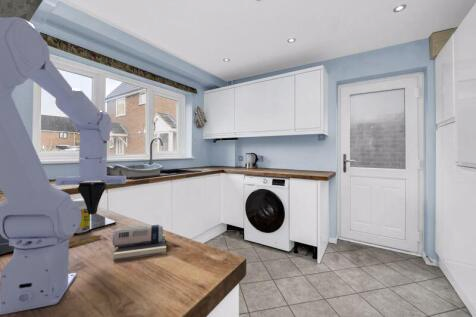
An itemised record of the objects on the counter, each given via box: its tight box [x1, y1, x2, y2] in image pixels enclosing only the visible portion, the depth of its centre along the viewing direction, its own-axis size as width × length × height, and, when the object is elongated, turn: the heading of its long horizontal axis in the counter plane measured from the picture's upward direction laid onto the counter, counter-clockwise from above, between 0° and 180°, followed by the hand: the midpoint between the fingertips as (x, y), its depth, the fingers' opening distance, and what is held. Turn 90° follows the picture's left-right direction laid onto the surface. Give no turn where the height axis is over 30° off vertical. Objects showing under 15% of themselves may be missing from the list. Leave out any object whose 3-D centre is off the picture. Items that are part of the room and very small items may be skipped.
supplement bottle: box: [72, 198, 91, 234], centre depth 69 cm, size 6×6×10 cm
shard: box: [69, 235, 102, 248], centre depth 59 cm, size 11×8×2 cm
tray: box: [112, 233, 167, 262], centre depth 56 cm, size 10×12×2 cm
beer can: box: [112, 224, 164, 248], centre depth 58 cm, size 5×5×12 cm
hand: (92, 213), depth 53 cm, fingers closed
